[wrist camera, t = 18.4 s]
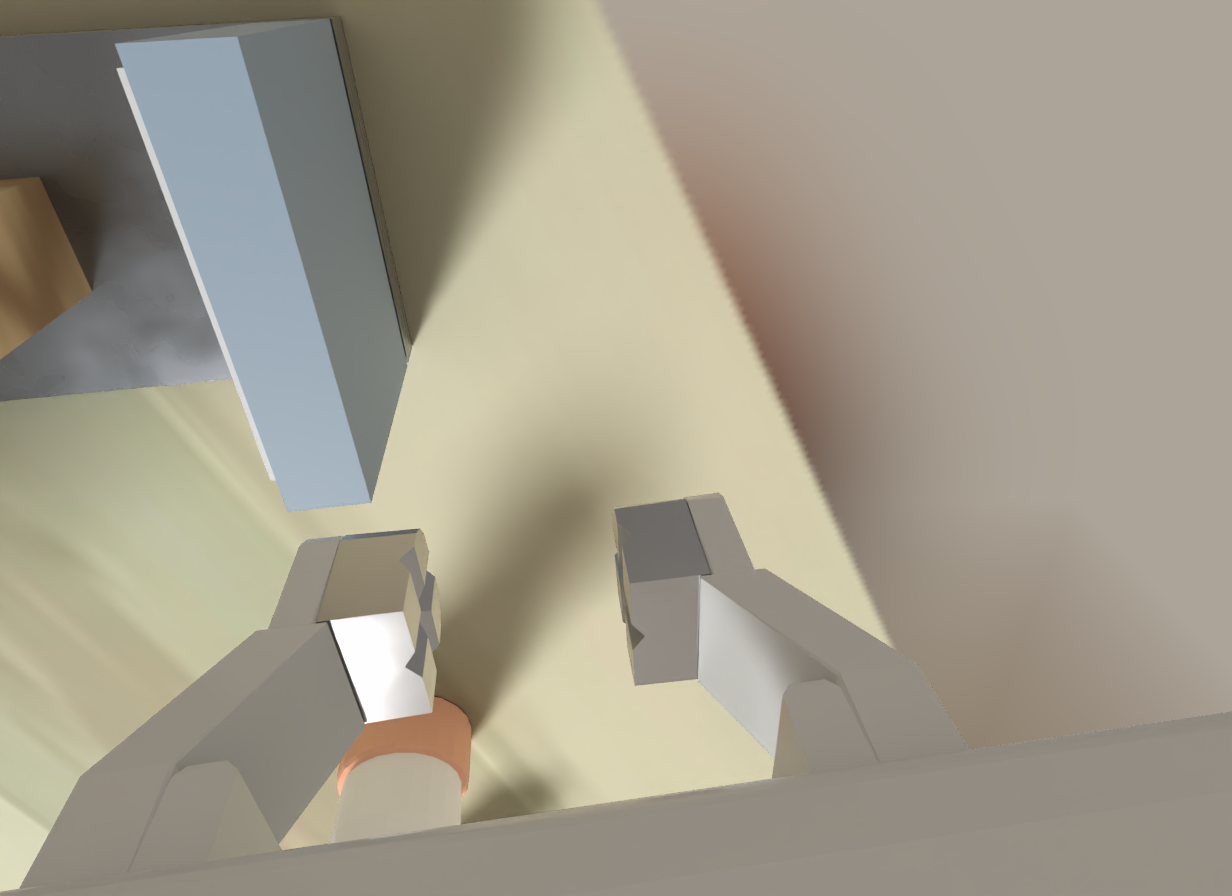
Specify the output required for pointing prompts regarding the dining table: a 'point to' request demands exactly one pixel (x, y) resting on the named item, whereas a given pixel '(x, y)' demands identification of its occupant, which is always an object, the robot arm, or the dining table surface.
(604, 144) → the dining table surface
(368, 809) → the pepper shaker
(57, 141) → the vise
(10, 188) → the wooden block
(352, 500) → the vise jaw
